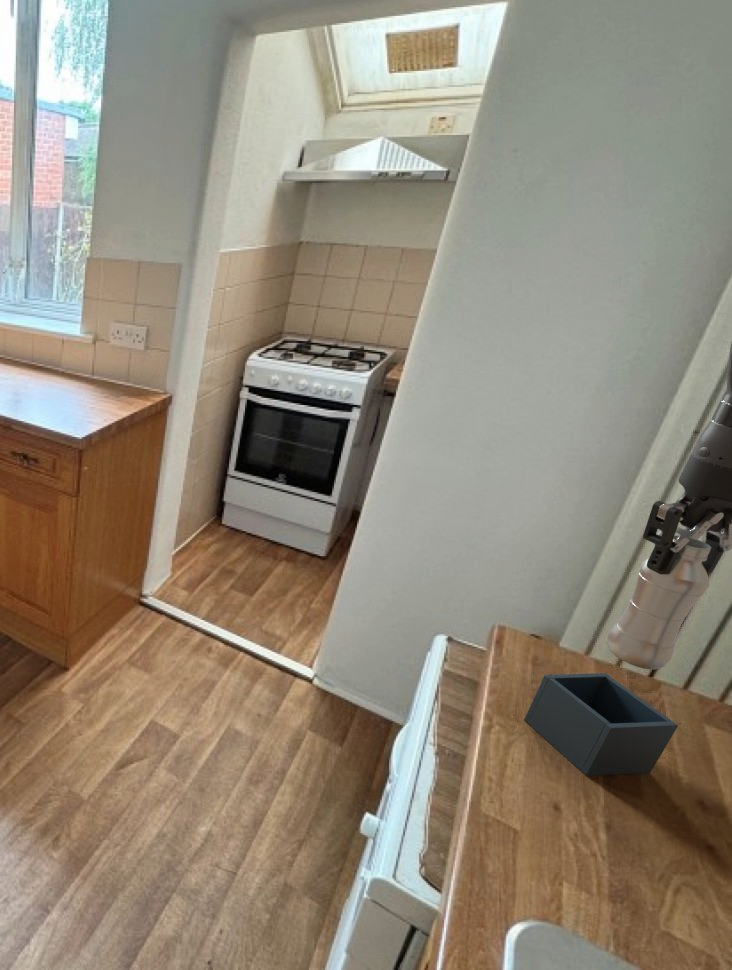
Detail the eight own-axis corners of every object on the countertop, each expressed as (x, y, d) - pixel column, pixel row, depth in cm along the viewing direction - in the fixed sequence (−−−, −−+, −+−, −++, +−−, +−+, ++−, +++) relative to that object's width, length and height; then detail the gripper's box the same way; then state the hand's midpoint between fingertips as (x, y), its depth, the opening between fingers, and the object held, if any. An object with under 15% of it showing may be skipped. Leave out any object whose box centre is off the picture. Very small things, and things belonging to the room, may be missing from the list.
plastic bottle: (626, 673, 85) (688, 554, 78) (588, 641, 92) (642, 528, 84) (677, 678, 85) (745, 558, 77) (635, 645, 91) (694, 531, 84)
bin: (650, 773, 92) (678, 725, 88) (585, 776, 91) (611, 728, 88) (582, 717, 102) (605, 672, 98) (523, 720, 101) (544, 674, 97)
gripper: (719, 472, 72) (660, 588, 79) (827, 470, 73) (759, 585, 79) (651, 448, 79) (601, 556, 86) (750, 447, 80) (694, 554, 86)
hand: (678, 570), depth 82 cm, fingers closed on plastic bottle, 5 cm apart
